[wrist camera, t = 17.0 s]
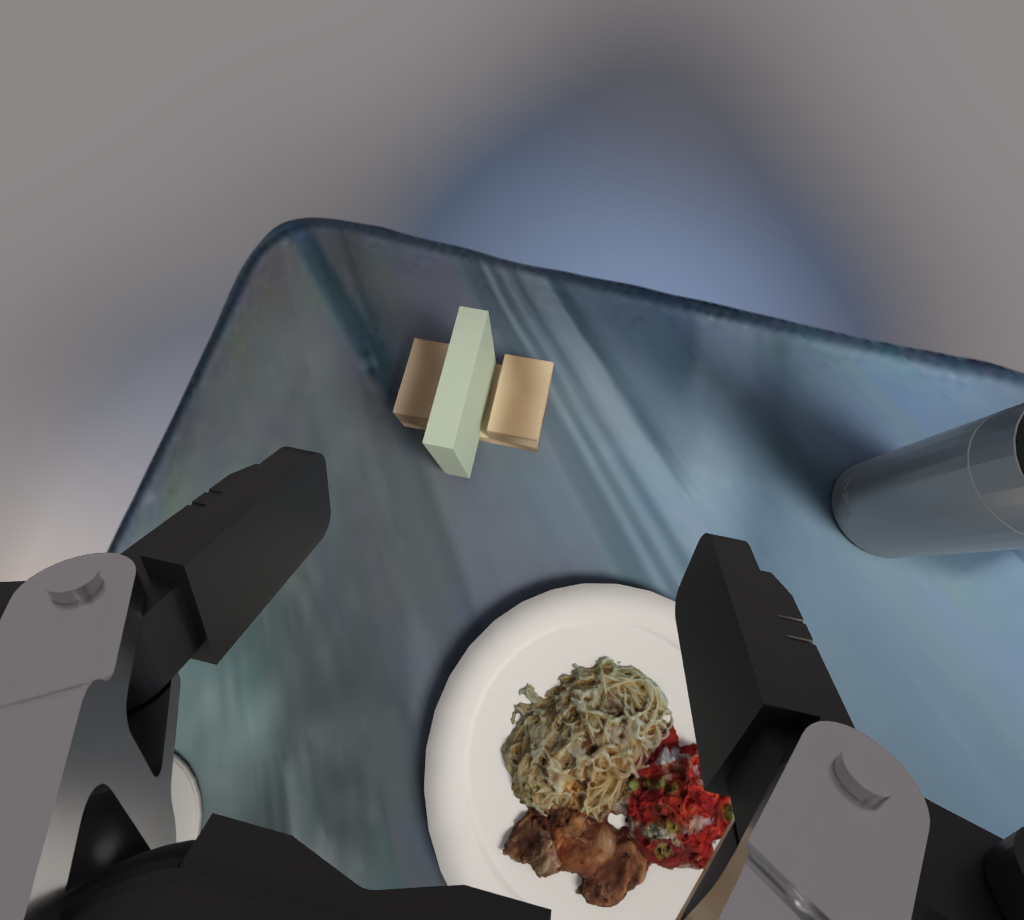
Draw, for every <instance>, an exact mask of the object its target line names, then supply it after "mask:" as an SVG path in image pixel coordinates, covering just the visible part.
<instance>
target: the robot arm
mask: <svg viewBox="0 0 1024 920" xmlns="http://www.w3.org/2000/svg"><path fill="white" fill-rule="evenodd" d="M831 500H832V510H833V513H834V517H835V519H836V521H837V523H838V525H839V527H840V529H841V530H842V531H843V533H844V534H845V535H846V536H847V538H848V539H850V540H851V541H852V542H853V543H854V544H855V545H856V546H858V547H860V548H861V549H863V550H864V551H866V552H869V553H871V554H874V555H876V556H881V557H887V558H900V557H914V556H929V555H945V554H959V553H972V552H986V551H1000V550H1014V549H1024V403H1022V404H1019V405H1016V406H1013V407H1011V408H1008V409H1005V410H1002V411H1000V412H997V413H995V414H992V415H989V416H987V417H984V418H981V419H978V420H976V421H973V422H970V423H967V424H965V425H962V426H959V427H956V428H954V429H951V430H948V431H945V432H943V433H940V434H937V435H934V436H932V437H929V438H926V439H924V440H921V441H918V442H915V443H913V444H910V445H907V446H904V447H902V448H899V449H896V450H893V451H891V452H888V453H885V454H882V455H879V456H877V457H874V458H871V459H868V460H866V461H863V462H860V463H858V464H855V465H853V466H851V467H849V468H848V469H846V470H845V471H844V472H843V473H842V474H841V475H840V476H839V478H838V479H837V480H836V483H835V485H834V487H833V491H832V498H831ZM330 514H331V511H330V500H329V490H328V480H327V470H326V462H325V458H324V457H323V455H322V454H320V453H316V452H311V451H306V450H301V449H296V448H292V447H282V448H280V449H279V450H277V451H276V452H275V453H273V454H272V455H271V456H270V457H268V458H267V459H266V460H264V461H263V462H262V463H260V464H259V465H258V464H254V465H252V466H249V467H247V468H244V469H242V470H240V471H237V472H235V473H232V474H230V475H228V476H227V477H225V478H224V479H223V480H221V481H220V482H219V483H217V484H216V485H214V486H213V487H212V488H210V489H209V492H208V493H206V492H205V493H203V494H202V495H201V496H199V497H198V498H197V499H195V500H194V501H193V502H192V505H187V506H186V507H184V508H183V509H182V510H180V511H179V512H177V513H176V514H175V515H173V516H172V517H171V518H169V519H168V520H166V521H165V522H164V523H162V524H161V525H160V526H158V527H157V528H155V529H154V530H153V531H151V532H150V533H149V534H147V535H146V536H144V537H143V538H142V539H140V540H139V541H138V542H136V543H135V544H133V545H132V546H131V547H129V548H128V549H127V550H125V551H124V552H123V553H121V554H116V553H94V554H87V555H82V556H78V557H74V558H71V559H67V560H64V561H62V562H59V563H57V564H55V565H52V566H50V567H48V568H46V569H44V570H42V571H40V572H39V573H37V574H36V575H34V576H32V577H31V578H30V579H28V580H27V581H19V582H18V581H17V582H0V920H551V909H548V908H544V907H541V906H537V905H534V904H530V903H527V902H523V901H520V900H516V899H513V898H509V897H506V896H502V895H499V894H495V893H492V892H488V891H485V890H481V889H478V888H474V887H471V886H467V885H450V886H434V887H419V888H404V889H388V890H368V889H364V888H362V887H360V886H358V885H357V884H356V883H354V882H353V881H352V880H350V879H349V878H348V877H346V876H345V875H344V874H342V873H341V872H340V871H338V870H337V869H336V868H334V867H333V866H332V865H330V864H329V863H328V862H326V861H325V860H324V859H322V858H321V857H320V856H318V855H317V854H316V853H314V852H313V851H312V850H310V849H309V848H308V847H306V846H305V845H304V844H302V843H301V842H300V841H298V840H297V839H296V838H294V837H293V836H291V835H288V834H284V833H281V832H277V831H274V830H270V829H267V828H263V827H260V826H256V825H253V824H249V823H246V822H242V821H239V820H235V819H232V818H228V817H225V816H221V815H218V814H214V813H213V814H212V815H211V817H210V818H209V820H208V822H207V823H206V825H205V826H204V828H203V829H202V831H201V832H200V834H199V836H198V837H197V839H196V840H188V841H183V842H178V843H176V824H175V816H174V811H173V806H172V798H171V779H172V768H173V758H174V747H175V736H176V725H177V715H178V704H179V693H180V676H179V673H178V671H179V670H180V669H181V668H182V667H183V666H184V665H185V663H186V662H187V661H188V660H189V659H190V658H192V659H196V660H200V661H204V662H208V663H212V664H216V665H217V664H218V662H219V661H220V660H221V659H222V658H223V656H224V655H225V654H226V653H227V652H228V650H229V649H230V648H231V647H232V646H233V645H234V643H235V642H236V641H237V640H238V639H239V637H240V636H241V635H242V634H243V633H244V631H245V630H246V629H247V628H248V627H249V625H250V624H251V623H252V622H253V621H254V619H255V618H256V617H257V616H258V615H259V613H260V612H261V611H262V610H263V609H264V607H265V606H266V605H267V604H268V603H269V602H270V600H271V599H272V598H273V597H274V596H275V594H276V593H277V592H278V591H279V590H280V588H281V587H282V586H283V585H284V584H285V582H286V581H287V580H288V579H289V578H290V576H291V575H292V574H293V573H294V572H295V570H296V569H297V568H298V567H299V566H300V565H301V563H302V562H303V561H304V560H305V559H306V557H307V556H308V555H309V554H310V553H311V551H312V550H313V549H314V548H315V547H316V545H317V544H318V543H319V542H320V541H321V539H322V538H323V536H324V535H325V533H326V531H327V528H328V525H329V521H330ZM675 620H676V626H677V632H678V638H679V644H680V650H681V655H682V661H683V667H684V673H685V679H686V685H687V691H688V697H689V703H690V709H691V715H692V721H693V727H694V733H695V738H696V744H697V750H698V756H699V762H700V768H701V774H702V780H703V786H704V791H707V792H711V793H715V794H719V795H723V796H727V797H730V799H731V804H732V809H733V814H734V819H733V820H732V821H731V823H730V824H729V825H728V827H727V829H726V830H725V832H724V834H723V836H722V837H721V839H720V841H719V843H718V845H717V846H716V848H715V850H714V852H713V853H712V855H711V857H710V859H709V861H708V862H707V864H706V866H705V868H704V870H703V871H702V873H701V875H700V877H699V878H698V880H697V882H696V884H695V886H694V887H693V889H692V891H691V893H690V894H689V896H688V898H687V900H686V902H685V903H684V905H683V907H682V909H681V910H680V912H679V914H678V916H677V918H676V919H675V920H1024V827H1022V828H1020V829H1019V830H1017V831H1016V832H1014V833H1013V834H1011V835H1010V836H1008V837H1007V838H1005V839H1002V838H1000V837H998V836H996V835H994V834H992V833H990V832H988V831H987V830H985V829H983V828H981V827H979V826H977V825H975V824H973V823H971V822H969V821H967V820H965V819H964V818H962V817H960V816H958V815H956V814H954V813H952V812H950V811H948V810H946V809H944V808H942V807H941V806H939V805H937V804H935V803H933V802H931V801H929V800H928V799H926V798H924V797H923V795H922V793H921V791H920V789H919V787H918V786H917V784H916V783H915V781H914V779H913V778H912V777H911V775H910V774H909V773H908V771H907V770H906V769H905V768H904V767H903V765H902V764H901V763H900V762H899V761H898V760H897V759H896V758H895V757H894V756H893V755H892V754H891V753H890V752H889V751H887V750H886V749H885V748H884V747H883V746H881V745H880V744H879V743H877V742H876V741H875V740H873V739H872V738H870V737H869V736H867V735H866V734H864V733H862V732H860V731H858V730H856V729H855V727H854V725H853V723H852V721H851V719H850V717H849V715H848V713H847V710H846V708H845V706H844V704H843V702H842V700H841V698H840V696H839V694H838V691H837V689H836V687H835V685H834V683H833V681H832V679H831V677H830V675H829V672H828V670H827V668H826V666H825V664H824V662H823V660H822V658H821V656H820V654H819V651H818V649H817V647H816V645H813V644H812V641H813V639H812V637H811V635H810V632H809V630H808V628H807V626H806V624H803V618H802V616H801V613H800V611H799V609H798V607H797V605H796V603H795V601H794V599H793V597H792V595H791V594H790V593H789V592H788V591H787V589H786V588H785V587H784V586H783V585H782V584H781V583H780V582H779V581H778V580H777V579H776V578H775V576H774V575H773V574H772V573H770V572H765V571H760V569H759V567H758V565H757V562H756V560H755V558H754V555H753V553H752V550H751V548H750V546H749V544H748V543H747V542H746V541H743V540H738V539H733V538H728V537H723V536H718V535H713V534H708V533H705V534H704V535H703V536H702V537H701V538H700V540H699V542H698V544H697V547H696V549H695V551H694V554H693V556H692V558H691V561H690V563H689V565H688V568H687V570H686V572H685V575H684V577H683V579H682V581H681V584H680V586H679V589H678V592H677V596H676V603H675Z"/></svg>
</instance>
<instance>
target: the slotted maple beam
mask: <svg viewBox="0 0 1024 920" xmlns="http://www.w3.org/2000/svg"><path fill="white" fill-rule="evenodd" d="M448 347H449V344H446V343H440V342H435V341H429V340H423V339H418V338H415V339H414V342H413V346H412V349H411V352H410V356H409V359H408V362H407V366H406V369H405V372H404V376H403V379H402V383H401V386H400V389H399V393H398V396H397V399H396V403H395V406H394V409H393V413H394V414H395V416H396V417H397V418H398V419H399V421H400V422H401V423H402V424H403V426H406V427H411V428H416V429H422V430H426V427H427V424H428V420H429V417H430V413H431V409H432V406H433V402H434V398H435V395H436V391H437V387H438V384H439V380H440V377H441V373H442V369H443V366H444V362H445V358H446V355H447V351H448ZM553 363H554V362H548V361H542V360H537V359H531V358H525V357H520V356H514V355H508V354H505V356H504V361H503V365H500V364H496V366H497V367H496V372H495V376H494V380H493V384H492V388H491V392H490V396H489V400H488V405H487V409H486V413H485V417H484V421H483V425H482V429H481V433H480V438H479V441H483V442H488V443H493V444H499V445H504V446H509V447H514V448H519V449H524V450H529V451H535V452H537V448H538V443H539V439H540V434H541V429H542V424H543V419H544V415H545V410H546V405H547V400H548V395H549V390H550V386H551V381H552V372H553Z"/></svg>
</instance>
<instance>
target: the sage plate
mask: <svg viewBox="0 0 1024 920" xmlns="http://www.w3.org/2000/svg"><path fill="white" fill-rule="evenodd" d="M496 367H497V366H496V359H495V353H494V346H493V339H492V333H491V326H490V320H489V313H488V311H485V310H479V309H473V308H467V307H461V306H460V307H459V311H458V315H457V318H456V322H455V326H454V329H453V333H452V337H451V340H450V344H449V347H448V351H447V355H446V358H445V362H444V366H443V369H442V373H441V377H440V380H439V384H438V387H437V391H436V395H435V398H434V402H433V406H432V409H431V413H430V417H429V420H428V424H427V427H426V431H425V435H424V438H423V442H422V443H423V445H424V446H425V447H426V448H427V450H428V451H429V452H430V454H431V455H432V456H433V458H434V459H435V460H436V462H437V463H438V464H439V466H440V467H441V468H442V469H443V471H444V472H445V473H446V474H450V475H455V476H460V477H465V478H470V475H471V470H472V466H473V462H474V458H475V454H476V450H477V446H478V442H479V438H480V433H481V429H482V425H483V421H484V417H485V413H486V409H487V405H488V400H489V396H490V392H491V388H492V384H493V380H494V376H495V372H496Z"/></svg>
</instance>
